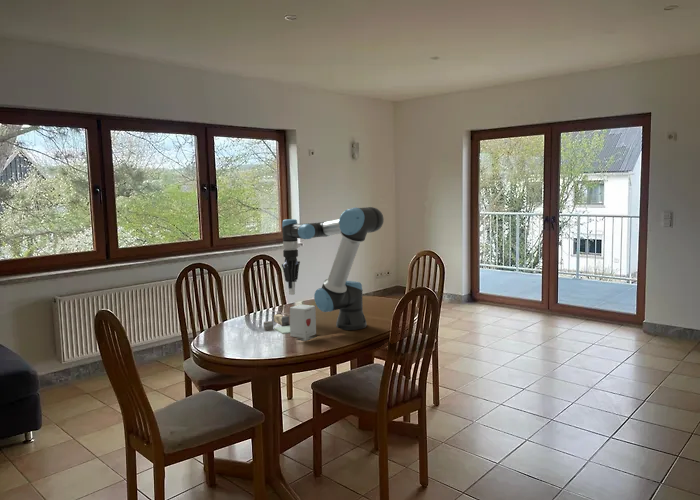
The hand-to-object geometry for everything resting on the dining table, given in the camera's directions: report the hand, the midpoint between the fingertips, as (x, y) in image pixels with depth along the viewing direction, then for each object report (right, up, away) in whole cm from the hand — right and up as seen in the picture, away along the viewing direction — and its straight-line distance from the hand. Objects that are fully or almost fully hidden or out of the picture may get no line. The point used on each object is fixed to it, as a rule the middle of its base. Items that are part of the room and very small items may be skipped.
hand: (291, 294), depth 282 cm
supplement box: (+8, -18, -29) cm, 35 cm away
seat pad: (0, -16, -19) cm, 24 cm away
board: (-7, -17, -13) cm, 23 cm away
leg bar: (-5, -15, -5) cm, 16 cm away
